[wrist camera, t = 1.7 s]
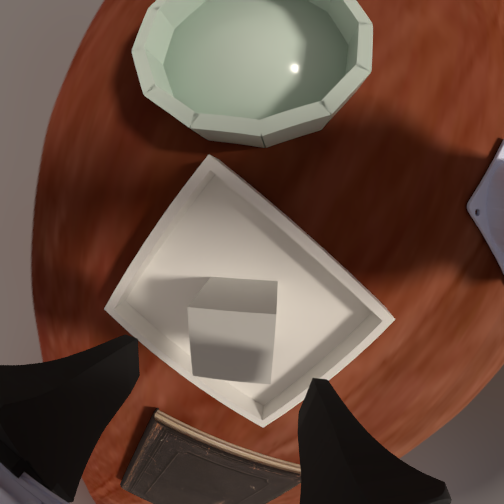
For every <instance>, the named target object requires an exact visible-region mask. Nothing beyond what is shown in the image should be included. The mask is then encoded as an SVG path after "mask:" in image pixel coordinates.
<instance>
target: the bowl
mask: <svg viewBox="0 0 504 504" xmlns="http://www.w3.org/2000/svg"><path fill="white" fill-rule="evenodd" d="M372 45H373V25H372V22H371V21H370V19H369V18H368V16H367V15H366V14H365V12H364V11H363V9H362V8H361V7H360V5H359V4H358V2H357V1H356V0H156V1H155V2H154V3H153V4H152V5H151V6H150V7H149V8H148V10H147V12H146V15H145V17H144V19H143V22H142V24H141V27H140V29H139V32H138V34H137V37H136V40H135V42H134V45H133V48H132V56H133V59H134V63H135V67H136V70H137V74H138V78H139V81H140V85H141V88H142V92H143V95H144V96H145V97H147V98H148V99H150V100H151V101H153V102H154V103H155V104H157V105H158V106H160V107H161V108H162V109H164V110H165V111H167V112H168V113H169V114H171V115H172V116H174V117H175V118H176V119H178V120H179V121H180V122H182V123H183V124H185V125H186V126H187V127H189V128H190V129H192V130H193V131H195V132H196V133H198V134H199V135H201V136H202V137H204V138H205V139H207V140H210V141H218V142H227V143H235V144H242V145H249V146H255V147H262V148H265V146H266V148H267V147H270V146H273V145H276V144H279V143H282V142H285V141H288V140H291V139H294V138H297V137H300V136H304V135H307V134H310V133H313V132H317V131H320V130H322V129H323V128H324V126H325V125H326V124H327V123H328V122H329V121H330V120H331V119H332V118H333V116H334V115H335V114H336V113H337V112H338V111H339V110H340V109H341V108H342V107H343V105H344V104H345V103H346V102H347V101H348V100H349V99H350V98H351V97H352V96H353V95H354V93H355V92H356V91H357V90H358V88H359V87H360V86H361V84H362V83H363V82H364V81H365V79H366V78H367V77H368V75H369V74H370V73H371V68H372Z"/></svg>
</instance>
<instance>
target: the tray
mask: <svg viewBox="0 0 504 504" xmlns="http://www.w3.org/2000/svg"><path fill="white" fill-rule="evenodd" d="M211 277H222V278H236V279H252V280H268V281H278V287H277V312H276V326H275V339H274V351H273V362H272V373H271V384H259V383H247V382H237V381H228V380H219V379H212V378H204V377H198V376H193V374H192V363H191V352H190V340H189V326H188V310H187V307H188V305H189V304H190V303H191V302H192V300H193V299H194V298H195V296H196V295H197V294H198V293H199V291H200V290H201V289H202V288H203V286H204V285H205V284H206V283H207V281H208V280H209V279H210V278H211ZM104 310H106V311H107V312H108V313H109V314H110V315H111V316H112V317H113V318H114V319H115V320H116V321H117V322H118V323H119V324H120V325H121V326H123V327H124V328H125V329H126V330H127V331H128V332H129V333H130V334H132V335H133V336H134V337H135V338H137V339H138V341H140V342H141V343H142V344H143V345H144V346H145V347H147V348H148V349H149V350H150V351H152V352H153V353H154V354H155V355H156V356H158V357H159V358H160V359H161V360H163V361H164V362H165V363H167V364H168V365H169V366H170V367H172V368H173V369H174V370H176V371H177V372H178V373H180V374H181V375H182V376H184V377H185V378H186V379H188V380H189V381H191V382H192V383H193V384H195V385H196V386H198V387H199V388H200V389H202V390H203V391H205V392H206V393H208V394H209V395H211V396H212V397H214V398H215V399H217V400H218V401H220V402H221V403H223V404H224V405H226V406H228V407H229V408H231V409H232V410H234V411H236V412H237V413H239V414H241V415H242V416H244V417H246V418H247V419H249V420H251V421H252V422H254V423H256V424H258V425H259V426H261V427H265V426H266V425H268V424H269V423H271V422H273V421H274V420H276V419H277V418H279V417H280V416H281V415H283V414H284V413H286V412H287V411H289V410H290V409H292V408H293V407H294V406H296V405H297V404H299V403H300V402H301V401H303V400H304V398H305V396H306V393H307V391H308V388H309V386H310V383H311V381H312V378H319V379H327V380H328V381H329V380H330V379H331V378H332V377H333V376H335V375H336V374H337V373H338V372H340V371H341V370H342V369H343V368H344V367H345V366H347V365H348V364H349V363H350V362H351V361H352V360H353V359H355V358H356V357H357V356H358V355H359V354H360V353H361V352H362V351H363V350H364V349H366V348H367V347H368V346H369V345H370V344H371V343H372V342H373V341H374V340H375V339H376V338H377V337H378V336H379V335H380V334H381V333H382V332H383V331H384V330H385V329H386V328H387V327H388V326H389V325H390V324H391V323H392V322H393V321H394V320H395V318H394V317H393V316H392V315H391V313H390V312H389V311H388V310H387V309H386V307H385V306H384V305H383V304H382V303H381V302H380V301H379V300H378V299H377V298H376V297H375V296H374V295H373V294H372V293H371V292H370V291H369V290H368V289H367V288H366V287H365V286H363V285H362V284H361V283H360V282H359V281H358V280H357V279H356V278H355V277H354V276H353V275H352V274H351V273H350V272H349V271H348V270H347V269H346V268H344V267H343V266H342V265H341V264H340V263H339V262H338V261H337V260H336V259H335V258H334V257H333V256H332V255H330V254H329V253H328V252H327V251H326V250H325V249H324V248H323V247H322V246H321V245H319V244H318V243H317V242H316V241H315V240H314V239H313V238H312V237H310V236H309V235H308V234H307V233H306V232H305V231H304V230H303V229H301V228H300V227H299V226H298V225H297V224H296V223H295V222H293V221H292V220H291V219H290V218H289V217H288V216H287V215H285V214H284V213H283V212H282V211H281V210H280V209H278V208H277V207H276V206H275V205H274V204H273V203H271V202H270V201H269V200H268V199H267V198H265V197H264V196H263V195H262V194H261V193H260V192H258V191H257V190H256V189H255V188H254V187H252V186H251V185H250V184H249V183H247V182H246V181H245V180H244V179H243V178H241V177H240V176H239V175H238V174H236V173H235V172H234V171H233V170H231V169H230V168H229V167H228V166H226V165H225V164H224V163H223V162H221V161H220V160H219V159H217V158H215V157H213V156H211V155H208V156H207V157H206V158H205V160H204V161H203V162H202V163H201V165H200V166H199V167H198V169H197V170H196V171H195V172H194V174H193V175H192V176H191V178H190V179H189V180H188V182H187V183H186V184H185V186H184V187H183V188H182V190H181V191H180V192H179V194H178V195H177V196H176V198H175V199H174V200H173V202H172V203H171V205H170V206H169V207H168V209H167V210H166V212H165V213H164V214H163V216H162V217H161V219H160V220H159V222H158V223H157V224H156V226H155V227H154V229H153V230H152V232H151V233H150V235H149V236H148V238H147V239H146V241H145V242H144V244H143V245H142V247H141V248H140V250H139V252H138V253H137V255H136V256H135V258H134V259H133V261H132V263H131V264H130V266H129V267H128V269H127V271H126V272H125V274H124V275H123V277H122V279H121V280H120V282H119V284H118V285H117V287H116V289H115V291H114V292H113V294H112V296H111V297H110V299H109V301H108V303H107V305H106V306H105V308H104Z"/></svg>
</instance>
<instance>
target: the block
mask: <svg viewBox="0 0 504 504" xmlns="http://www.w3.org/2000/svg"><path fill="white" fill-rule="evenodd" d="M277 287H278V281H268V280H252V279H236V278H222V277H211V278H210V279H209V280H208V281H207V283H206V284H205V285H204V286H203V288H202V289H201V290H200V291H199V293H198V294H197V295H196V296H195V298H194V299H193V300H192V302H191V303H190V304H189V305H188V307H187V310H188V326H189V340H190V352H191V363H192V374H193V376H198V377H204V378H212V379H219V380H228V381H237V382H247V383H259V384H271V373H272V362H273V351H274V339H275V326H276V312H277Z"/></svg>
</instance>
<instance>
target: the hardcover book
mask: <svg viewBox="0 0 504 504" xmlns="http://www.w3.org/2000/svg"><path fill="white" fill-rule="evenodd" d="M300 483H301V467H300V465H299V464H295V463H291V462H287V461H284V460H280V459H277V458H273V457H270V456H267V455H263V454H260V453H257V452H254V451H251V450H248V449H245V448H243V447H240V446H237V445H234V444H232V443H229V442H227V441H224V440H221V439H219V438H217V437H214V436H212V435H209V434H207V433H205V432H202V431H200V430H198V429H196V428H194V427H191V426H189V425H187V424H185V423H183V422H181V421H179V420H177V419H175V418H173V417H171V416H169V415H167V414H165V413H163V412H161V411H160V410H159V408H156V410H155V411H154V413H153V415H152V417H151V419H150V421H149V423H148V425H147V427H146V430H145V432H144V434H143V436H142V438H141V440H140V442H139V444H138V446H137V449H136V451H135V453H134V455H133V457H132V459H131V461H130V464H129V466H128V468H127V470H126V472H125V474H124V477H123V479H122V481H121V484H120V485H121V487H122V488H123V489H124V490H126V491H128V492H130V493H132V494H134V495H136V496H138V497H140V498H142V499H145V500H147V501H149V502H151V503H153V504H266V503H268V502H270V501H271V500H273V499H275V498H277V497H278V496H280V495H282V494H284V493H285V492H287V491H289V490H290V489H292V488H293V487H295V486H297V485H298V484H300Z"/></svg>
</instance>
